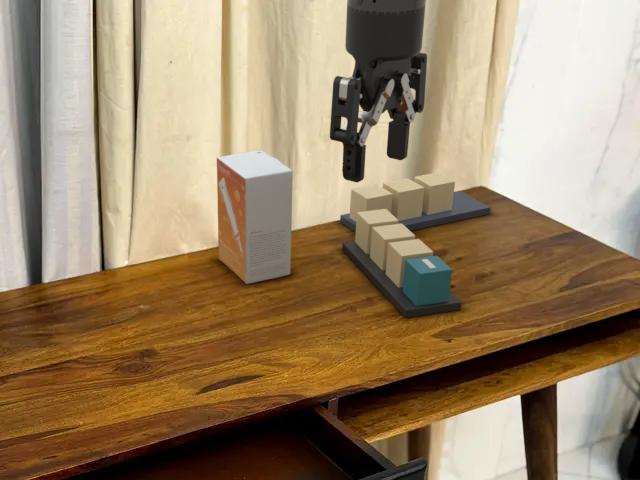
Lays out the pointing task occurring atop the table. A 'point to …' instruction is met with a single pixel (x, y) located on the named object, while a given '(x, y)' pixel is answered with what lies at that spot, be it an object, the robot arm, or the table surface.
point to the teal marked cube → (427, 280)
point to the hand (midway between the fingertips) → (375, 168)
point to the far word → (415, 202)
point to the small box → (254, 215)
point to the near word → (391, 260)
